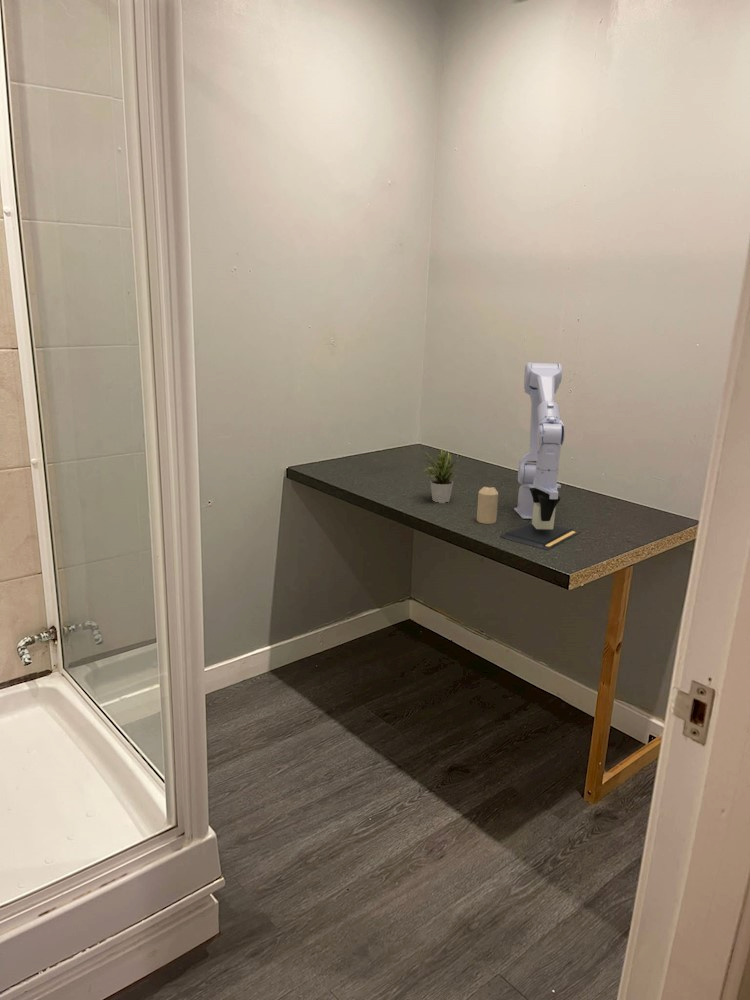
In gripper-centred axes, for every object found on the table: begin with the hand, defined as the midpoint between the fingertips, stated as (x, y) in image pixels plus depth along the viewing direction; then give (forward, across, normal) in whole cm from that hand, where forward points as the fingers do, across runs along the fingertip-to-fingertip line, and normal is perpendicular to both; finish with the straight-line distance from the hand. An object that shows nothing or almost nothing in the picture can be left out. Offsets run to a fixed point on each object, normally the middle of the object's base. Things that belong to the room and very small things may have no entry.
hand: (542, 517), depth 192 cm
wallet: (+6, 0, 0) cm, 6 cm away
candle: (+5, +12, +12) cm, 18 cm away
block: (+2, 0, 0) cm, 3 cm away
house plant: (+5, +33, +22) cm, 40 cm away
